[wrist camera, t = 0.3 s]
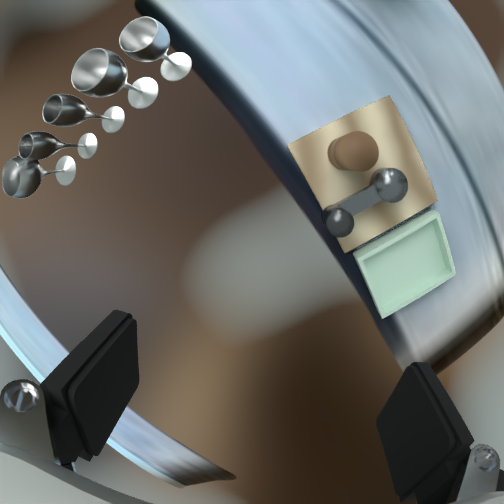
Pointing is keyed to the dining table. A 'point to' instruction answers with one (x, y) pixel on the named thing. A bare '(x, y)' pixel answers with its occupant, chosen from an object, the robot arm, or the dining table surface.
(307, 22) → the dining table surface
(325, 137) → the plate
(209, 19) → the dining table surface
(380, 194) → the crank
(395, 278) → the tray
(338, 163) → the peg
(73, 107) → the goblet set
